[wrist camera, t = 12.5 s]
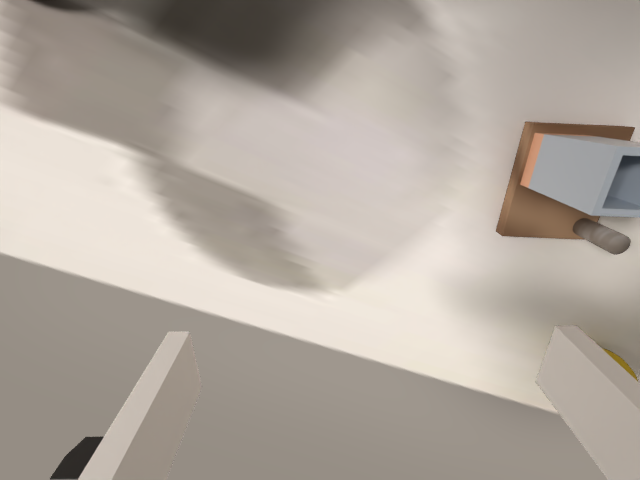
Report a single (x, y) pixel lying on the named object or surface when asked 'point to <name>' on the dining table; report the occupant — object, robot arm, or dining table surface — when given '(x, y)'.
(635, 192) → the sleeve
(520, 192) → the pin board
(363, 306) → the dining table surface
